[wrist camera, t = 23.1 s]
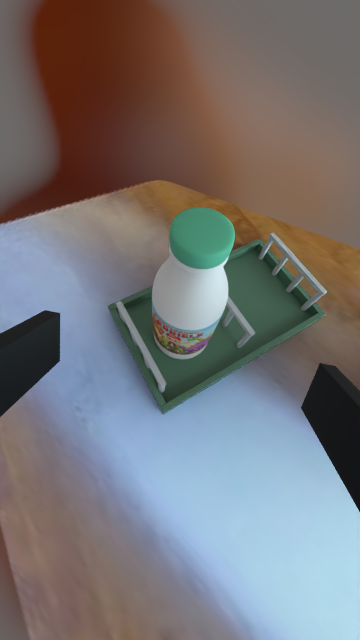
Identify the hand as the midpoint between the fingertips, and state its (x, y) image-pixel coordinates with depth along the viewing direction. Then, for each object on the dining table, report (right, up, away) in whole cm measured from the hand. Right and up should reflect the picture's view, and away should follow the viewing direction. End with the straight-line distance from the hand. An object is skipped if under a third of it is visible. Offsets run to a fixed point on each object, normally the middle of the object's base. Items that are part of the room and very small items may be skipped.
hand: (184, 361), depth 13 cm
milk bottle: (0, 0, +23) cm, 23 cm away
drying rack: (+5, +2, +25) cm, 26 cm away
